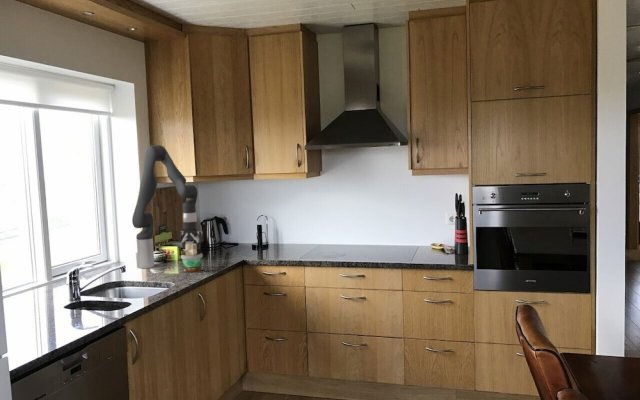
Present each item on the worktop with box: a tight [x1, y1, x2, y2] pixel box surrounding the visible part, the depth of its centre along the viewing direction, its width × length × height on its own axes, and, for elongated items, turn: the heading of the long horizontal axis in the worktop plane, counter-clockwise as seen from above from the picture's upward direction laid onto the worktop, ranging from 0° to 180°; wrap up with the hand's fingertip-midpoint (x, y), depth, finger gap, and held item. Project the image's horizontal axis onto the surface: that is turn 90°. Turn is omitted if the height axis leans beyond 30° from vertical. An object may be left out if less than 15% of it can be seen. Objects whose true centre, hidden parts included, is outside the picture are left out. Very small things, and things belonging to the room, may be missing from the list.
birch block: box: [185, 242, 198, 256], centre depth 297 cm, size 4×4×6 cm
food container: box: [180, 252, 204, 274], centre depth 297 cm, size 12×6×10 cm, turn 105°
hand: (191, 249), depth 297 cm, fingers open, 8 cm apart
